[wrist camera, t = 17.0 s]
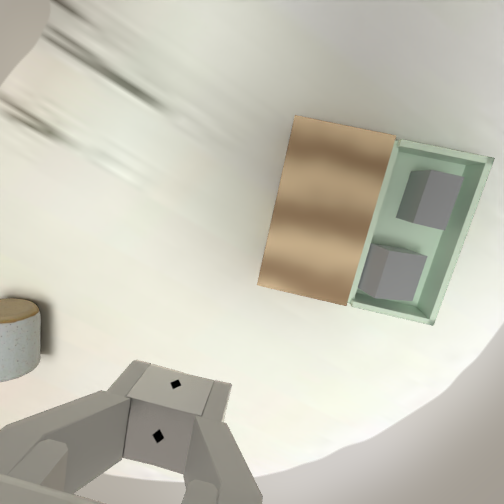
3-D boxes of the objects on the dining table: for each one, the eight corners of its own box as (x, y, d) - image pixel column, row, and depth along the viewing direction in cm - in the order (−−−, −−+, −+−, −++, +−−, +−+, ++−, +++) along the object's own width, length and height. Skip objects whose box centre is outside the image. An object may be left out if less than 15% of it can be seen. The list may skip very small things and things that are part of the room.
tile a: (431, 169, 30) (464, 177, 29) (410, 171, 34) (439, 177, 34) (412, 223, 31) (444, 230, 31) (395, 217, 36) (423, 223, 35)
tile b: (369, 242, 34) (389, 250, 32) (405, 248, 36) (427, 256, 33) (356, 287, 35) (374, 298, 33) (392, 290, 37) (412, 301, 35)
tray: (385, 143, 35) (398, 138, 31) (470, 160, 34) (494, 158, 30) (342, 293, 38) (348, 306, 35) (418, 311, 38) (433, 325, 34)
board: (294, 120, 35) (294, 115, 32) (387, 139, 34) (396, 135, 32) (259, 277, 39) (256, 285, 36) (341, 296, 39) (346, 305, 36)
